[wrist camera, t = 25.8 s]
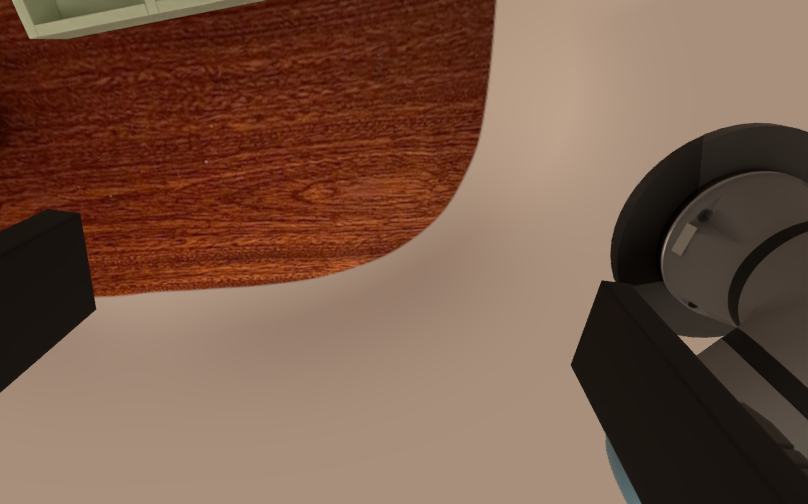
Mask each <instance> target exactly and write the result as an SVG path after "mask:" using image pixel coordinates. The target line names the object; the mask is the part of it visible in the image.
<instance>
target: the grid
mask: <svg viewBox="0 0 808 504" xmlns="http://www.w3.org/2000/svg"><path fill="white" fill-rule="evenodd" d="M259 1H265V0H12V2H13V4H14V6H15V8H16V10H17V13H18V15H19V17H20V19H21V21H22V23H23V26H24V28H25V30H26V32H27V34H28V36H29V38H30V39H70V38H75V37H80V36H85V35H90V34H95V33H101V32H106V31H111V30H116V29H121V28H126V27H131V26H136V25H142V24H147V23H152V22H157V21H162V20H167V19H172V18H177V17H183V16H188V15H193V14H198V13H203V12H208V11H213V10H218V9H224V8H229V7H234V6H239V5H244V4H249V3H254V2H259Z"/></svg>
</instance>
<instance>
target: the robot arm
mask: <svg viewBox="0 0 808 504" xmlns="http://www.w3.org/2000/svg"><path fill="white" fill-rule="evenodd" d="M656 267H657V272H658V275H659V278H660V280H661V282H662V284H663V285H664V287H665V288H666V289H667V290H668V292H669V293H670V294H671V295H672V296H674V297H675V298H676V299H677V300H678V301H679V302H680V303H682V304H683V305H685V306H686V307H688V308H689V309H691V310H693V311H695V312H697V313H699V314H702V315H705V316H708V317H710V318H712V319H715V320H718V321H720V322H723V323H726V324H728V325H731V326H734V327H737V328H735V329H734V330H732V331H731V332H730V333H728V334H727V335H725V336H724V337H722V338H720V339H719V340H718V341H716V342H715V343H713V344H712V345H711V346H709V347H708V348H706V349H705V350H704V351H703V352H701V353H699V354H698V355H697V356H696V355H695V354H694V353H693V352H692V351H691V350H690V348H689V347H688V346H687V345H686V344H685V343H684V342H683V341H682V340H681V339H680V338H679V337H678V335H677V334H676V333H675V332H674V331H673V330H672V329H671V328H670V327H669V326H668V325H667V323H666V322H665V321H664V320H663V319H662V318H661V317H660V316H659V315H658V314H657V313H656V312H655V310H654V309H653V308H652V307H651V306H650V305H649V304H648V303H647V302H646V301H645V300H644V299H643V297H642V296H641V295H640V294H639V293H638V292H637V291H636V290H635V289H634V288H633V287H632V286H631V285H630V284H625V283H618V282H609V281H601V284H600V286H599V289H598V292H597V295H596V297H595V300H594V303H593V306H592V308H591V311H590V314H589V317H588V319H587V322H586V325H585V327H584V330H583V333H582V336H581V339H580V341H579V344H578V347H577V349H576V352H575V355H574V357H573V360H572V363H571V367H572V369H573V371H574V373H575V374H576V376H577V378H578V380H579V382H580V384H581V386H582V388H583V390H584V392H585V394H586V396H587V398H588V400H589V402H590V404H591V406H592V408H593V410H594V412H595V413H596V416H597V417H598V420H599V422H600V423H601V425H602V427H603V429H604V431H605V433H606V451H607V455H608V459H609V463H610V465H611V469H612V471H613V474H614V477H615V479H616V481H617V484H618V486H619V488H620V490H621V492H622V494H623V496H624V498H625V500H626V502H627V504H808V184H807V183H806V182H804V181H802V180H801V179H799V178H796V177H794V176H791V175H788V174H786V173H783V172H779V171H776V170H771V169H746V170H741V171H736V172H732V173H729V174H726V175H723V176H721V177H718V178H716V179H714V180H712V181H710V182H708V183H707V184H705V185H703V186H702V187H700V188H699V189H697V190H696V191H695V192H693V193H692V194H691V195H690V196H688V197H687V198H686V199H685V200H684V201H683V202H682V203H681V204H680V205H679V206H678V207H677V209H676V210H675V211H674V212H673V214H672V215H671V216H670V218H669V219H668V221H667V223H666V224H665V226H664V228H663V230H662V233H661V235H660V238H659V241H658V245H657V251H656ZM95 310H96V306H95V299H94V293H93V287H92V281H91V275H90V269H89V263H88V257H87V251H86V245H85V239H84V233H83V227H82V221H81V215H80V213H73V212H65V211H58V210H50V209H47V210H45V211H43V212H41V213H39V214H36V215H34V216H32V217H30V218H28V219H26V220H24V221H22V222H19V223H17V224H15V225H13V226H11V227H9V228H7V229H5V230H2V231H0V392H2V391H3V390H4V389H5V388H6V387H7V386H8V385H10V384H11V383H12V382H13V381H14V380H15V379H17V378H18V377H19V376H20V375H21V374H22V373H23V372H25V371H26V370H27V369H28V368H29V367H30V366H31V365H33V364H34V363H35V362H36V361H37V360H38V359H40V358H41V357H42V356H43V355H44V354H45V353H46V352H48V351H49V350H50V349H51V348H52V347H53V346H55V345H56V344H57V343H58V342H59V341H60V340H62V339H63V338H64V337H65V336H66V335H67V334H68V333H69V332H71V331H72V330H73V329H74V328H75V327H76V326H77V325H79V324H80V323H81V322H82V321H83V320H84V319H86V318H87V317H88V316H89V315H90V314H91V313H92V312H94V311H95Z"/></svg>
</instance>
